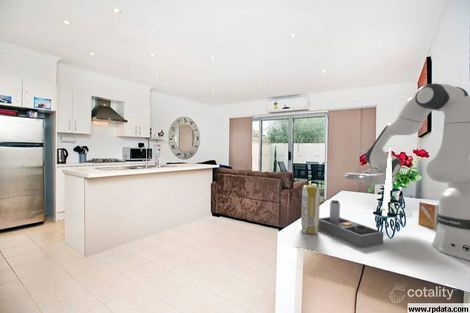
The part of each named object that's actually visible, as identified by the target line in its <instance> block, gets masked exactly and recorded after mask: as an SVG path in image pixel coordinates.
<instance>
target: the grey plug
mask: <svg viewBox="0 0 470 313" xmlns="http://www.w3.org/2000/svg"><path fill="white" fill-rule="evenodd" d="M340 208H341V203H340V202H339V200H336V199H335V200H334V199H332V200H331V201H330V202H329V217H330V223H331V224H338V223H339V220H340V218H341V217H340V215H341V214H340V212H341V209H340Z"/></svg>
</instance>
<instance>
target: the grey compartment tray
mask: <svg viewBox="0 0 470 313" xmlns="http://www.w3.org/2000/svg"><path fill="white" fill-rule="evenodd" d="M357 225H363V224H361V223H357V222H355V221H351V220H348V219H346V218H343V217H340V220H339V223H338V224H331V223H330V216H327V217H319V229H318V230H320V231H322V232H325V233H326V234H328V235H331V236H333V237H335V238H337V239H340V240H342V241H343V242H346V243H348V244H351V245H353V246H355V247H358V248H360V249H362V248H367V247H372V246H376V245H377V244H378V245H382V244H384V231H382V230H378V229H375V228H373V227H369V226H366V225H363V226H365V227H366V228H367V234H364V235H359V234H357V233H355V227H356V226H357Z"/></svg>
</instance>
